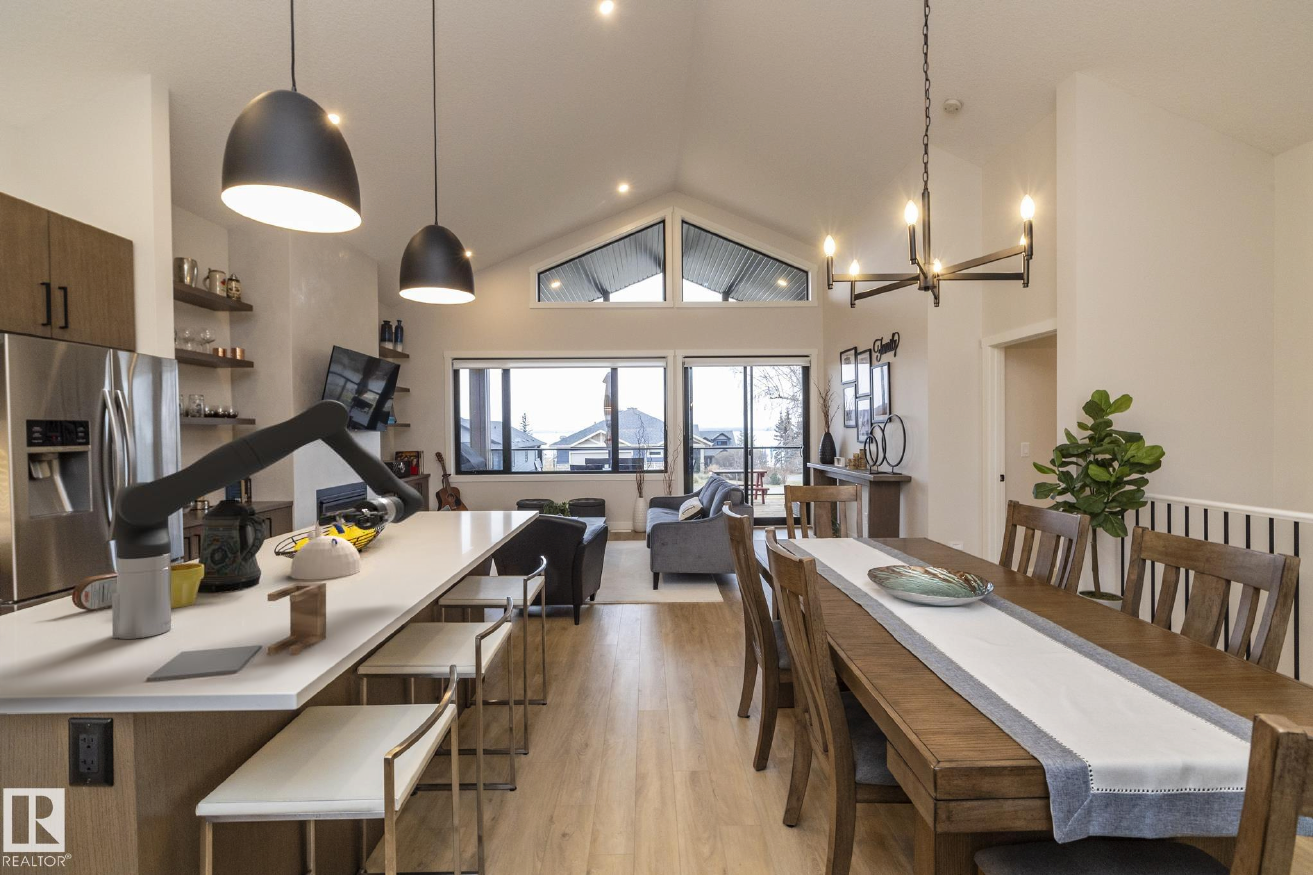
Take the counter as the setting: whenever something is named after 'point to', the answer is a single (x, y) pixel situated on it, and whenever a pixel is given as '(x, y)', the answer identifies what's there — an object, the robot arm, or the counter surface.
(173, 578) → the plant pot
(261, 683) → the counter surface
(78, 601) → the tin
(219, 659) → the mat
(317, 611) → the stool
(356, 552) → the kettle
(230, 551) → the beer stein
